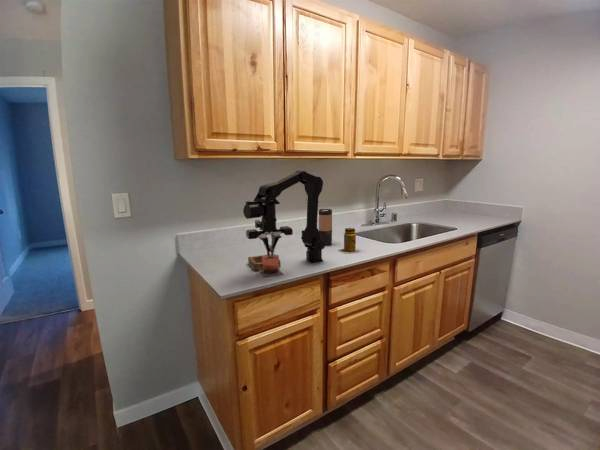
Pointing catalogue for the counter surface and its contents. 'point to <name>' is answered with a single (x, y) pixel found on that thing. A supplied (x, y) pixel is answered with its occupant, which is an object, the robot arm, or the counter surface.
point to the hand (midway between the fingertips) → (270, 252)
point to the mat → (270, 273)
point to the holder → (257, 263)
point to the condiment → (349, 241)
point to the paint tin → (270, 261)
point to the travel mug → (325, 226)
